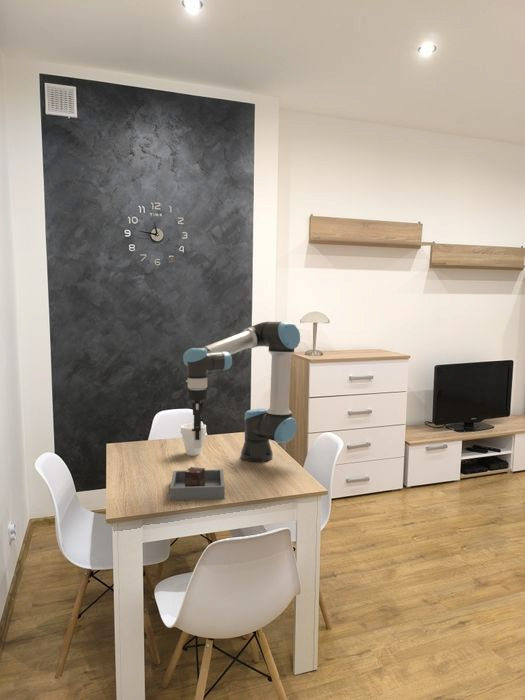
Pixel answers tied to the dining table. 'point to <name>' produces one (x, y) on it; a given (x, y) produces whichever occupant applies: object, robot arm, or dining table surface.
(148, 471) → the dining table surface
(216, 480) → the bin
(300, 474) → the dining table surface
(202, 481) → the box
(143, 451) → the dining table surface
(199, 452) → the cup
